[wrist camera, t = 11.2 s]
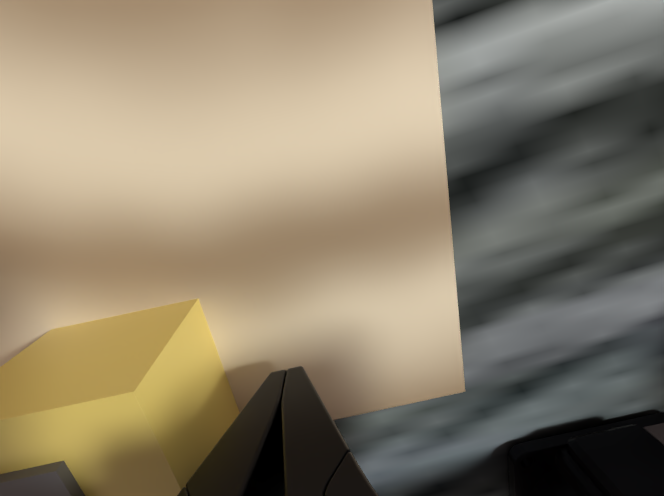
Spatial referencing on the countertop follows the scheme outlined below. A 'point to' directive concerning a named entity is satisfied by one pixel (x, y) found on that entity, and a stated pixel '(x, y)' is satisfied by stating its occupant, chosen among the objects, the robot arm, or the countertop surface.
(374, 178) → the panel
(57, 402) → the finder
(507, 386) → the countertop surface
